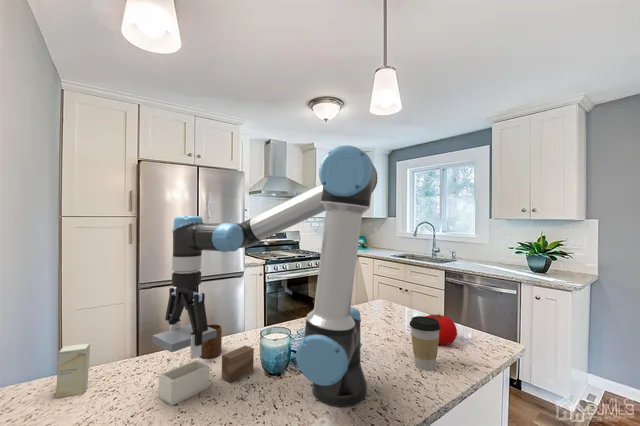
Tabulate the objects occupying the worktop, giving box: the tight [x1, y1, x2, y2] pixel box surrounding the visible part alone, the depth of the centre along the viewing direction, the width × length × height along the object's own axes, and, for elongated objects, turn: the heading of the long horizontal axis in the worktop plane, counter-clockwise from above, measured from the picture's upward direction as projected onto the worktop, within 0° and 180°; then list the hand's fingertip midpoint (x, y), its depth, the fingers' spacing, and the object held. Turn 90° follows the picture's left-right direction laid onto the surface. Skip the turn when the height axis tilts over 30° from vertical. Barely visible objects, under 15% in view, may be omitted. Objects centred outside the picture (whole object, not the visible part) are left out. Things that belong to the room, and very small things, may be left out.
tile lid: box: [151, 324, 217, 353], centre depth 83 cm, size 10×13×2 cm
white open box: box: [157, 359, 211, 407], centre depth 83 cm, size 6×11×6 cm, turn 144°
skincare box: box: [55, 342, 91, 399], centre depth 83 cm, size 6×4×12 cm
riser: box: [220, 345, 255, 384], centre depth 93 cm, size 4×9×7 cm, turn 144°
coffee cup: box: [409, 315, 441, 372], centre depth 99 cm, size 10×10×15 cm
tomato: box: [425, 313, 458, 346], centre depth 120 cm, size 14×13×10 cm
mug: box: [199, 324, 223, 359], centre depth 105 cm, size 12×8×9 cm, turn 9°
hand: (184, 351), depth 83 cm, fingers closed on tile lid, 10 cm apart
